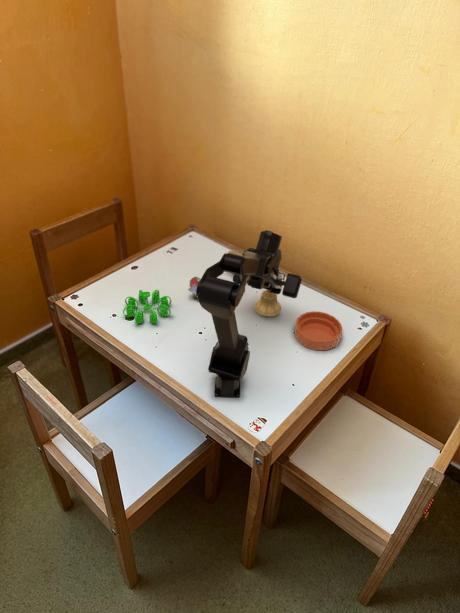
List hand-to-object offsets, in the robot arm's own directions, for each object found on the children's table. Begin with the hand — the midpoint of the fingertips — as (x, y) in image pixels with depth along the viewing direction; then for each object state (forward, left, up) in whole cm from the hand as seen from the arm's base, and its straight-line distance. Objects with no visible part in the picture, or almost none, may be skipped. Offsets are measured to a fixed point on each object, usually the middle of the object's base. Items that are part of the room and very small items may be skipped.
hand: (271, 285), depth 140 cm
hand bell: (-1, 0, -8) cm, 8 cm away
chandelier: (-3, +37, -9) cm, 38 cm away
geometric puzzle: (+6, +22, -9) cm, 24 cm away
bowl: (-11, -14, -9) cm, 20 cm away
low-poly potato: (+18, +8, -9) cm, 22 cm away
